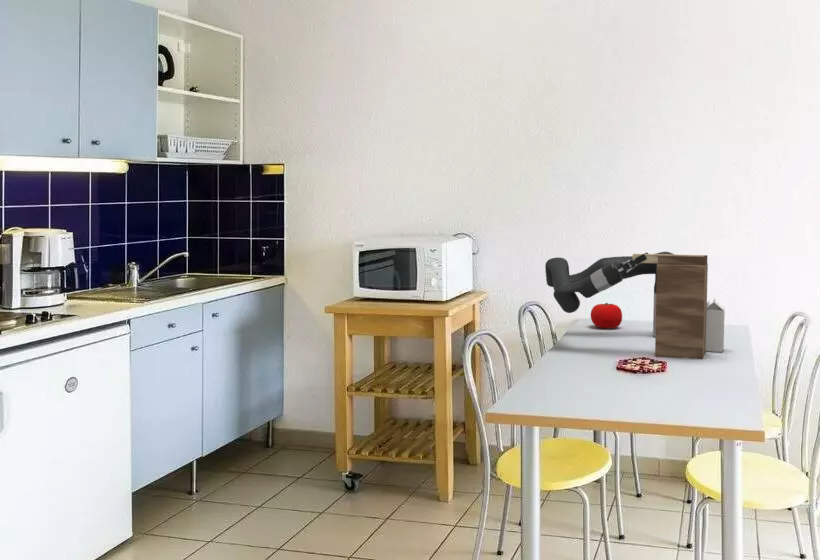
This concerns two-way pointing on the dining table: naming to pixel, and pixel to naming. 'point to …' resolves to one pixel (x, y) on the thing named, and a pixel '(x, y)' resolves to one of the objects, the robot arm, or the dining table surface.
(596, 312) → the tomato
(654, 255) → the wooden block
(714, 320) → the milk carton
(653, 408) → the dining table surface
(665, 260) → the pedestal
